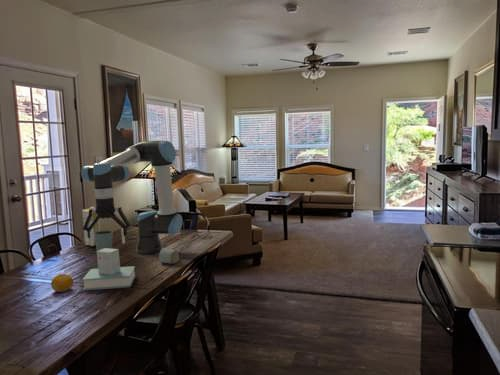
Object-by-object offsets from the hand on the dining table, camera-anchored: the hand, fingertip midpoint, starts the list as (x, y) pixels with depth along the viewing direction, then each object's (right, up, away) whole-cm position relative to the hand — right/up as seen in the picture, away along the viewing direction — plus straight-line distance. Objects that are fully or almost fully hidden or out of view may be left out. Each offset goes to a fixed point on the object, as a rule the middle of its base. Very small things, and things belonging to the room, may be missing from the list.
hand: (108, 243), depth 175 cm
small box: (0, -13, +1) cm, 13 cm away
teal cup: (-22, -13, +54) cm, 60 cm away
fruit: (-18, -20, -6) cm, 27 cm away
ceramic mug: (+22, -15, +31) cm, 41 cm away
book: (0, -18, +2) cm, 18 cm away
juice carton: (-36, -11, +72) cm, 82 cm away
